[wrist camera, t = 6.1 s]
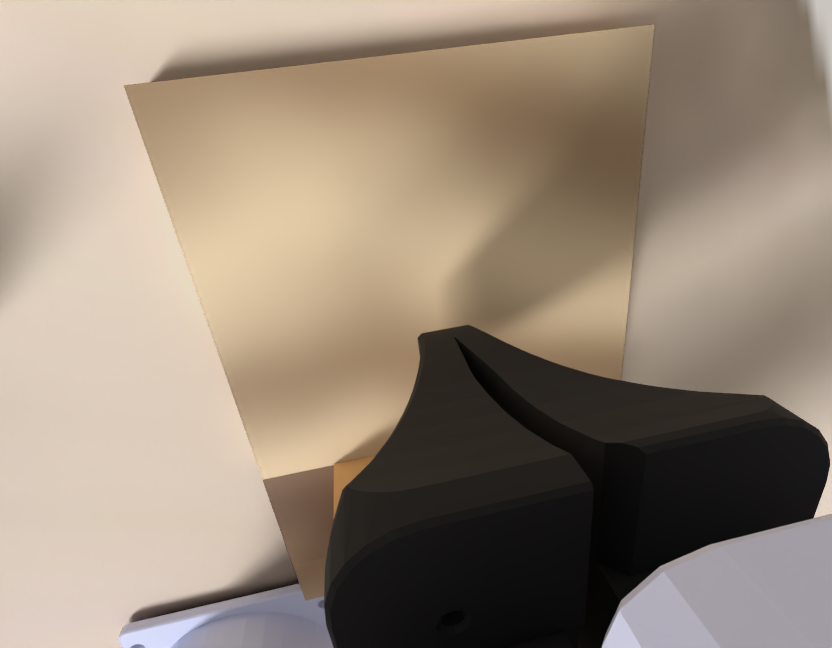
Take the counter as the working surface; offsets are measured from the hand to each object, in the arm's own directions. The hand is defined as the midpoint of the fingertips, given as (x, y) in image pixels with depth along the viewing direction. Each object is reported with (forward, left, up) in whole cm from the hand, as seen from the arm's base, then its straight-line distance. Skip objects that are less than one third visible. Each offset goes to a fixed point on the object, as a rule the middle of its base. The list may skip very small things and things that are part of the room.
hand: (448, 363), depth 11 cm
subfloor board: (-1, 0, -3) cm, 3 cm away
